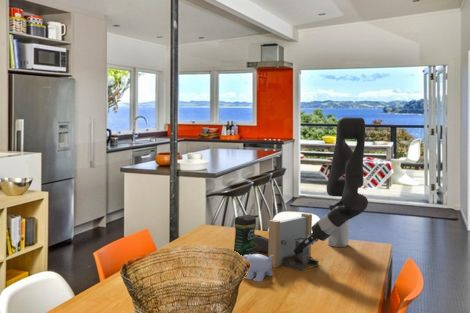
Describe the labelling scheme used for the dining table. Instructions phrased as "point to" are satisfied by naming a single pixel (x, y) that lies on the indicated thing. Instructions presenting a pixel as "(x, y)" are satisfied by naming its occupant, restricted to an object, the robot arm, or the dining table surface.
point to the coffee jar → (245, 234)
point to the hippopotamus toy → (258, 266)
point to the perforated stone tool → (261, 243)
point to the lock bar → (301, 253)
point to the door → (287, 237)
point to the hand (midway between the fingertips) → (297, 251)
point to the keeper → (291, 263)
